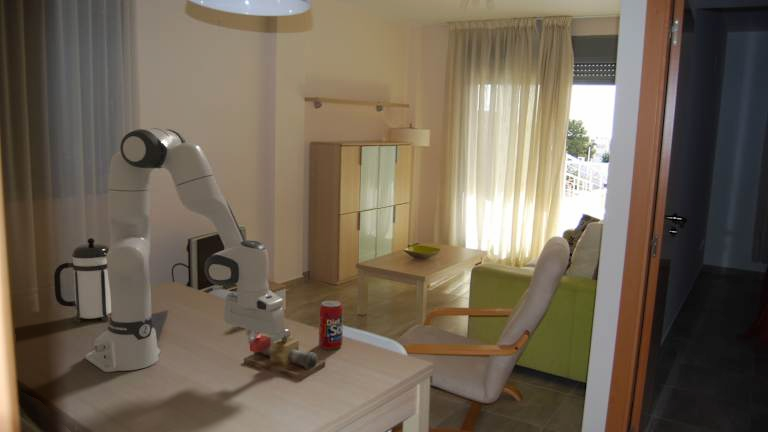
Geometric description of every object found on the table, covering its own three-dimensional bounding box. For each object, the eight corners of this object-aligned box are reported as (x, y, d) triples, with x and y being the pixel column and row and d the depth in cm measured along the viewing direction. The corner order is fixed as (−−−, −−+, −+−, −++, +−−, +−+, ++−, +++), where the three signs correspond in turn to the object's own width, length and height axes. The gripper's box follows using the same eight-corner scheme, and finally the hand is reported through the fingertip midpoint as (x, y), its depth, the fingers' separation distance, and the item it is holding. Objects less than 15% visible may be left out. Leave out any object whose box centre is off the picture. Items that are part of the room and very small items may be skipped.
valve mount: (243, 362, 176) (243, 334, 175) (270, 350, 186) (270, 323, 185) (300, 380, 165) (300, 350, 164) (325, 366, 176) (325, 338, 174)
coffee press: (102, 308, 223) (98, 232, 218) (125, 317, 213) (121, 238, 209) (55, 319, 209) (50, 238, 204) (77, 329, 200) (73, 245, 195)
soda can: (322, 341, 196) (323, 298, 194) (344, 343, 195) (345, 300, 192) (315, 349, 189) (316, 305, 186) (338, 352, 187) (339, 307, 185)
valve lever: (283, 334, 177) (283, 326, 176) (292, 336, 175) (292, 328, 175) (248, 350, 163) (248, 341, 163) (257, 353, 162) (257, 344, 161)
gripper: (218, 294, 166) (219, 339, 169) (273, 306, 157) (273, 354, 159) (234, 289, 172) (234, 333, 174) (288, 300, 162) (288, 347, 164)
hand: (253, 343), depth 166 cm, fingers closed
